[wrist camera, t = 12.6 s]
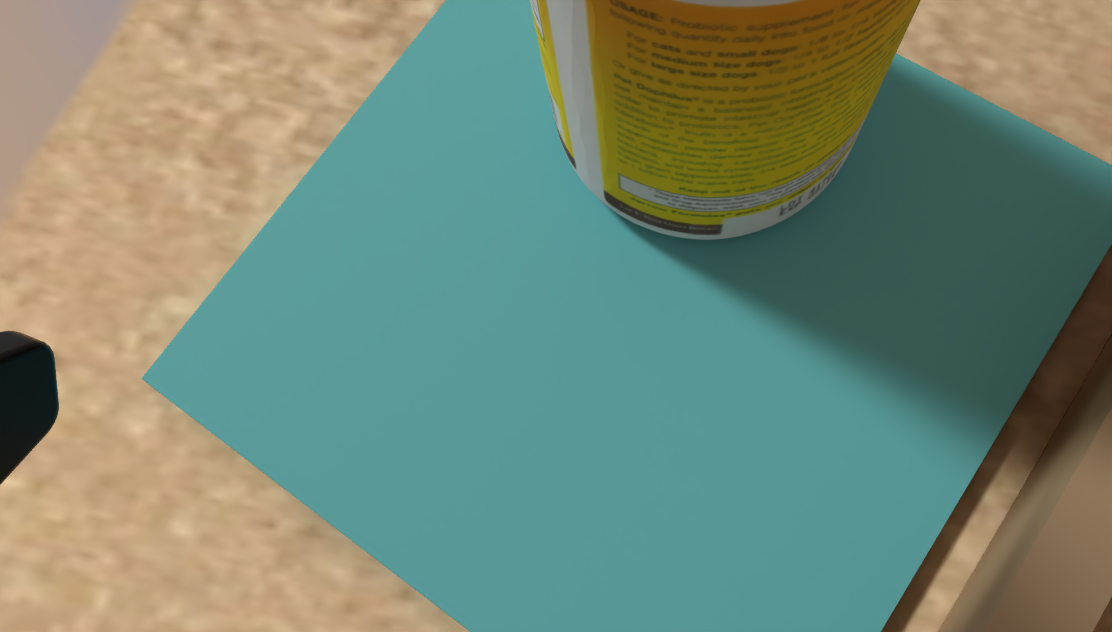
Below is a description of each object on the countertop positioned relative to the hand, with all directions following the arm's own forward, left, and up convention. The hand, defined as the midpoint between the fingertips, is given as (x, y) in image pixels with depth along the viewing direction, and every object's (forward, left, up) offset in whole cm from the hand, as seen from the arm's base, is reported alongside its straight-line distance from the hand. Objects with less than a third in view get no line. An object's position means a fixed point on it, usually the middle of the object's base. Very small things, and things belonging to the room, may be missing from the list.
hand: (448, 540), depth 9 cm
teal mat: (+5, -2, -8) cm, 9 cm away
